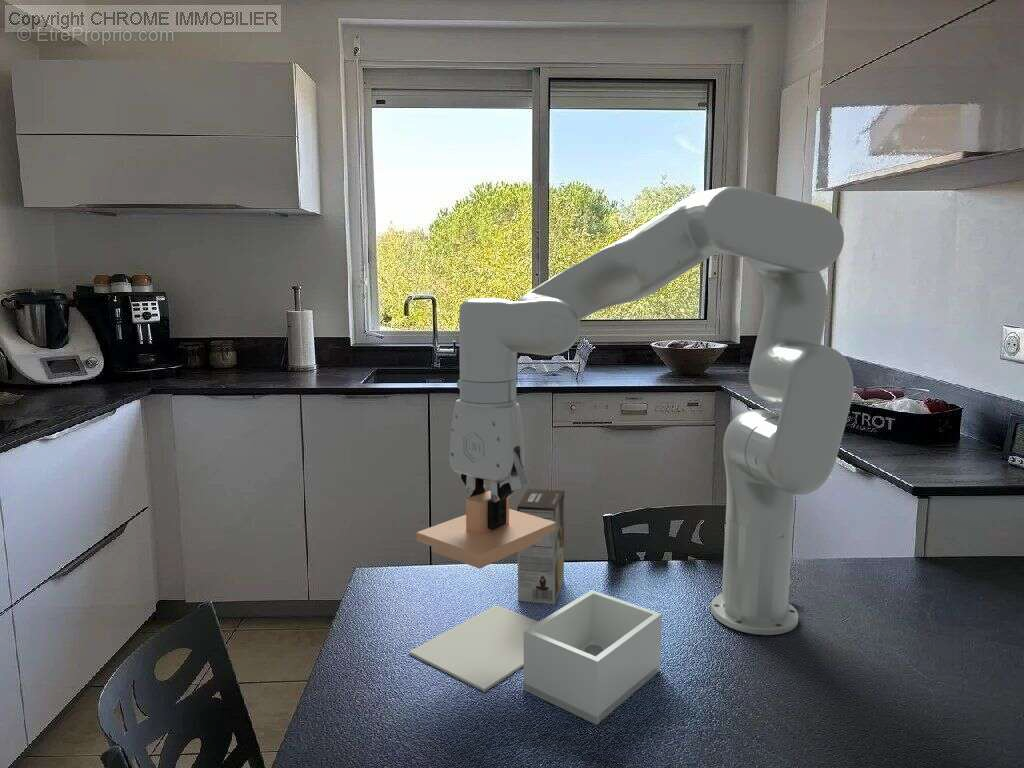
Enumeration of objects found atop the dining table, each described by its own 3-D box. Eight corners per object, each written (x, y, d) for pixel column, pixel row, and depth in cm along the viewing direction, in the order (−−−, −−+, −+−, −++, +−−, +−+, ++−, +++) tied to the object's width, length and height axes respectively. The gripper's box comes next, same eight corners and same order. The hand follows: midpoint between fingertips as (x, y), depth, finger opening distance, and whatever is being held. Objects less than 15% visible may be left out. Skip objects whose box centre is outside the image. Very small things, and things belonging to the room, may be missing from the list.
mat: (495, 607, 115) (495, 604, 114) (568, 636, 106) (568, 633, 106) (409, 653, 101) (409, 651, 101) (484, 691, 92) (484, 689, 92)
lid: (493, 521, 110) (494, 475, 109) (555, 540, 103) (556, 491, 102) (416, 551, 99) (416, 499, 97) (480, 575, 91) (480, 519, 90)
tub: (590, 642, 104) (591, 589, 102) (660, 670, 97) (661, 613, 95) (523, 689, 92) (523, 631, 91) (596, 724, 85) (597, 661, 84)
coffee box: (527, 577, 125) (527, 487, 122) (564, 580, 124) (565, 489, 121) (516, 602, 116) (516, 505, 114) (556, 605, 115) (557, 507, 112)
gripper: (425, 388, 100) (427, 518, 103) (516, 403, 89) (515, 547, 92) (463, 381, 105) (464, 504, 108) (553, 395, 95) (551, 530, 98)
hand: (488, 523), depth 100 cm, fingers closed on lid, 2 cm apart
